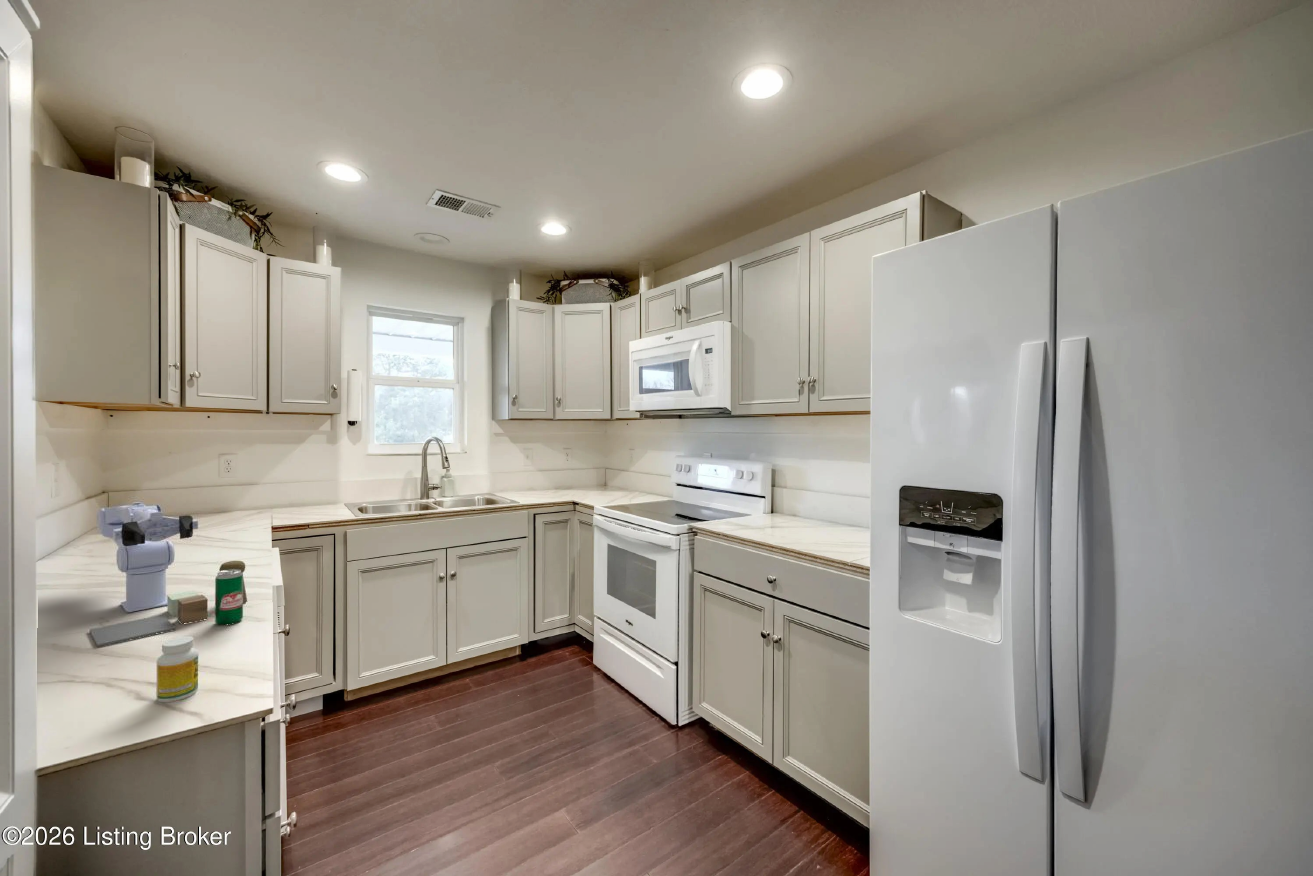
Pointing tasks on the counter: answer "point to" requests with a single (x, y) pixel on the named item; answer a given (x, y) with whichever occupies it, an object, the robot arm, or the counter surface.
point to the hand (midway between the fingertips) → (166, 536)
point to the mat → (130, 630)
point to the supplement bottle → (177, 670)
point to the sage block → (173, 601)
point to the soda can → (228, 597)
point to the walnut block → (192, 609)
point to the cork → (235, 565)
